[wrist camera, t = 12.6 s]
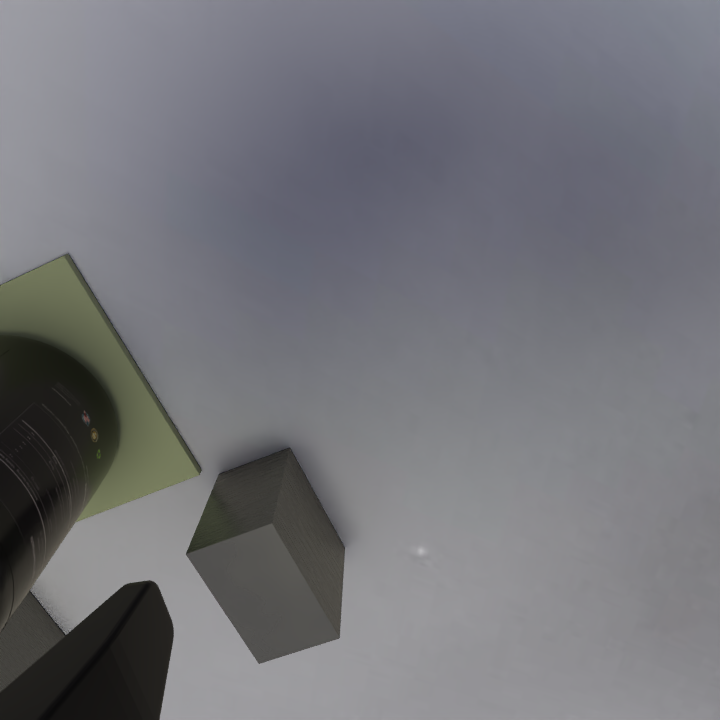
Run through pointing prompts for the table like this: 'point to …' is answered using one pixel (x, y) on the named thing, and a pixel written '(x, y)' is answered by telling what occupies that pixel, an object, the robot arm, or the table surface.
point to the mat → (100, 379)
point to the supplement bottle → (45, 457)
